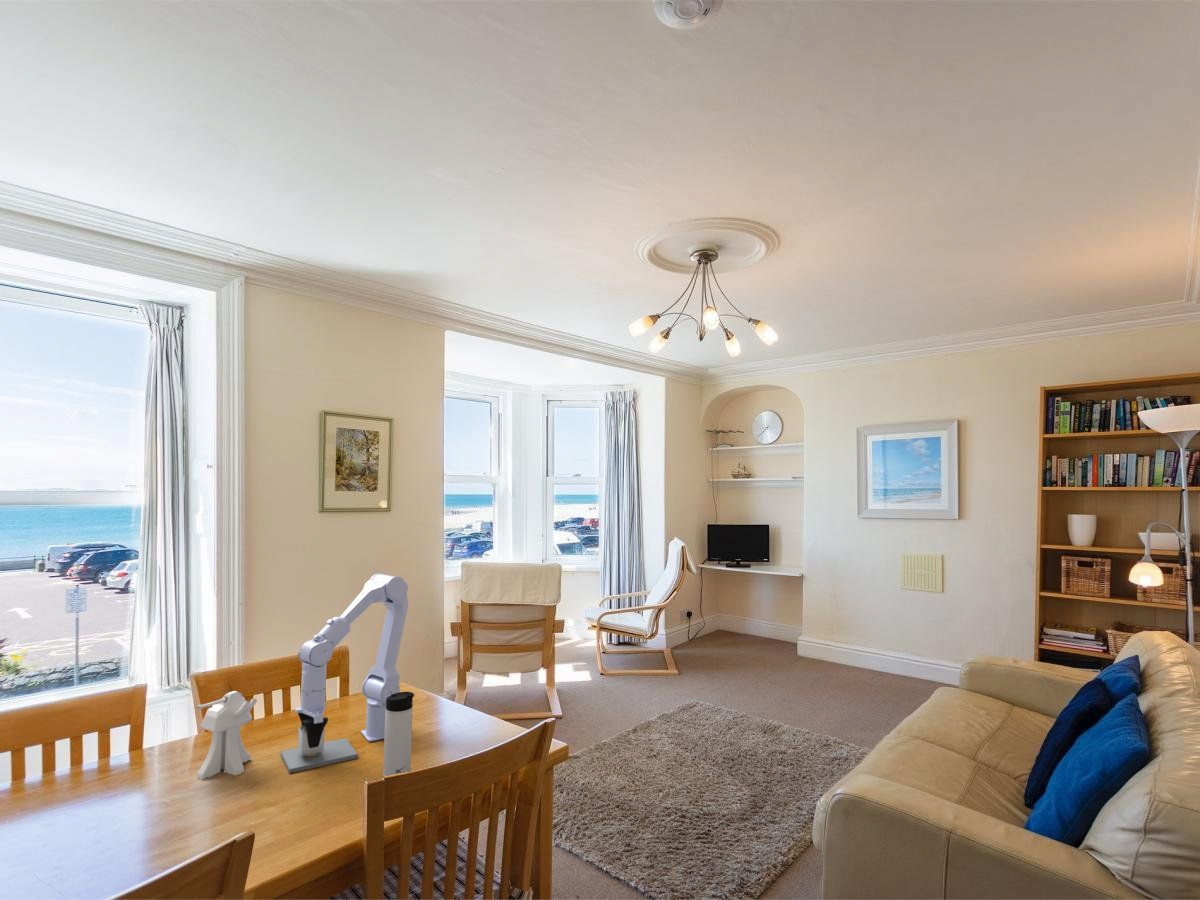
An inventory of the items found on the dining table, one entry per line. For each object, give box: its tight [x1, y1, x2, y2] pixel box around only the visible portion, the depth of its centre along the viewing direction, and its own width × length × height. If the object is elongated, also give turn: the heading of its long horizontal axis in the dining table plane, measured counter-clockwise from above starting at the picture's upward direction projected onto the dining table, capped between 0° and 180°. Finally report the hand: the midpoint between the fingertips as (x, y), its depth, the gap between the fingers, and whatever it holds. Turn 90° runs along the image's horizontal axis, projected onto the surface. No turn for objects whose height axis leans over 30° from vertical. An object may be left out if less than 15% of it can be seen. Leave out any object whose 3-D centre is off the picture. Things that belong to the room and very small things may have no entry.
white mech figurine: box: [196, 690, 258, 780], centre depth 157 cm, size 12×13×18 cm
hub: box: [297, 725, 326, 756], centre depth 163 cm, size 5×5×6 cm
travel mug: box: [382, 691, 415, 778], centre depth 154 cm, size 6×7×20 cm
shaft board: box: [280, 737, 359, 774], centre depth 164 cm, size 16×12×6 cm
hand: (311, 742), depth 163 cm, fingers closed on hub, 5 cm apart
